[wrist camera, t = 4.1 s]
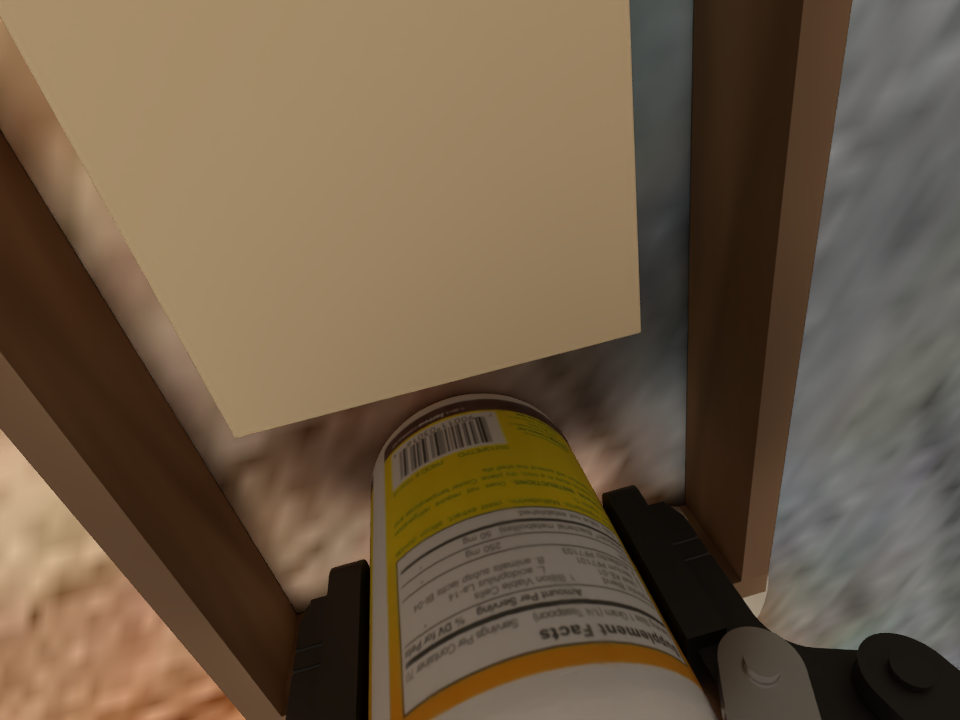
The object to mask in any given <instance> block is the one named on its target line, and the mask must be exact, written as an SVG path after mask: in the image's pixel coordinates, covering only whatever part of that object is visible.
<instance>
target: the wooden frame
mask: <svg viewBox="0 0 960 720" xmlns="http://www.w3.org/2000/svg"><path fill="white" fill-rule="evenodd" d="M851 7H852V0H694V33H693V90H692V147H691V203H690V260H689V316H688V373H687V429H686V486H685V505H682V506H679V508H680V509H681V511H682V512H683V513H684V515H685V516H686V518H687V519H688V520H687V521H688V522H689V524H690V525H691V526H692V528H693V529H694V531H695V532H696V533H697V535H698V538H699V539H701V541H702V542H703V543H704V545H705V546H706V548H707V549H708V550H709V553H710V555H712V556H713V557H714V559H715V560H716V562H717V563H718V564H719V566H720V567H721V569H722V570H723V571H724V573H725V574H726V576H727V577H728V579H729V580H730V581H731V583H732V584H733V586H734V587H735V588H736V590H737V591H738V593H739V594H740V595H741V597H742V598H745V597H748V596H752V595H755V594H758V593H762V592H765V591H766V585H767V578H768V571H769V564H770V557H771V551H772V544H773V537H774V530H775V523H776V517H777V510H778V503H779V496H780V489H781V483H782V476H783V469H784V462H785V455H786V449H787V442H788V435H789V428H790V421H791V415H792V408H793V401H794V394H795V387H796V381H797V374H798V367H799V360H800V353H801V347H802V340H803V333H804V326H805V319H806V313H807V306H808V299H809V292H810V285H811V279H812V272H813V265H814V258H815V251H816V245H817V238H818V231H819V224H820V217H821V211H822V204H823V197H824V190H825V183H826V177H827V170H828V163H829V156H830V149H831V143H832V136H833V129H834V122H835V115H836V109H837V102H838V95H839V88H840V81H841V75H842V68H843V61H844V54H845V47H846V41H847V34H848V27H849V20H850V13H851ZM0 429H1V430H2V431H3V432H4V433H5V434H6V436H7V437H8V438H9V439H10V440H11V442H12V443H13V444H14V445H15V446H16V447H17V449H18V450H19V451H20V452H21V453H22V455H23V456H24V457H25V458H26V459H27V460H28V462H29V463H30V464H31V465H32V466H33V468H34V469H35V470H36V471H37V472H38V474H39V475H40V476H41V477H42V478H43V479H44V481H45V482H46V483H47V484H48V485H49V487H50V488H51V489H52V490H53V491H54V492H55V494H56V495H57V496H58V497H59V498H60V500H61V501H62V502H63V503H64V504H65V505H66V507H67V508H68V509H69V510H70V511H71V513H72V514H73V515H74V516H75V517H76V519H77V520H78V521H79V522H80V523H81V524H82V526H83V527H84V528H85V529H86V530H87V532H88V533H89V534H90V535H91V536H92V537H93V539H94V540H95V541H96V542H97V543H98V545H99V546H100V547H101V548H102V549H103V550H104V552H105V553H106V554H107V555H108V556H109V558H110V559H111V560H112V561H113V562H114V564H115V565H116V566H117V567H118V568H119V569H120V571H121V572H122V573H123V574H124V575H125V577H126V578H127V579H128V580H129V581H130V582H131V584H132V585H133V586H134V587H135V588H136V590H137V591H138V592H139V593H140V594H141V595H142V597H143V598H144V599H145V600H146V601H147V603H148V604H149V605H150V606H151V607H152V609H153V610H154V611H155V612H156V613H157V614H158V616H159V617H160V618H161V619H162V620H163V622H164V623H165V624H166V625H167V626H168V627H169V629H170V630H171V631H172V632H173V633H174V635H175V636H176V637H177V638H178V639H179V640H180V642H181V643H182V644H183V645H184V646H185V648H186V649H187V650H188V651H189V652H190V654H191V655H192V656H193V657H194V658H195V659H196V661H197V662H198V663H199V664H200V665H201V667H202V668H203V669H204V670H205V671H206V672H207V674H208V675H209V676H210V677H211V678H212V680H213V681H214V682H215V683H216V684H217V685H218V687H219V688H220V689H221V690H222V691H223V693H224V694H225V695H226V696H227V697H228V699H229V700H230V701H231V702H232V703H233V704H234V706H235V707H236V708H237V709H238V710H239V712H240V713H241V714H242V715H243V716H244V717H245V719H246V720H286V713H287V706H288V699H289V692H290V685H291V678H292V676H293V664H294V657H295V654H296V644H297V637H298V630H299V624H300V622H301V620H302V618H303V616H304V614H305V612H304V613H300V614H297V613H296V612H295V610H294V608H293V607H292V605H291V604H290V602H289V600H288V599H287V597H286V595H285V594H284V592H283V591H282V589H281V587H280V586H279V584H278V582H277V581H276V579H275V578H274V576H273V574H272V573H271V571H270V569H269V568H268V566H267V565H266V563H265V561H264V560H263V558H262V556H261V555H260V553H259V552H258V550H257V548H256V547H255V545H254V543H253V542H252V540H251V539H250V537H249V535H248V534H247V532H246V530H245V529H244V527H243V526H242V524H241V522H240V521H239V519H238V517H237V516H236V514H235V513H234V511H233V509H232V508H231V506H230V504H229V503H228V501H227V500H226V498H225V496H224V495H223V493H222V491H221V490H220V488H219V487H218V485H217V483H216V482H215V480H214V478H213V477H212V475H211V474H210V472H209V470H208V469H207V467H206V465H205V464H204V462H203V461H202V459H201V457H200V456H199V454H198V452H197V451H196V449H195V448H194V446H193V444H192V443H191V441H190V439H189V438H188V436H187V435H186V433H185V431H184V430H183V428H182V426H181V425H180V423H179V422H178V420H177V418H176V417H175V415H174V413H173V412H172V410H171V409H170V407H169V405H168V404H167V402H166V400H165V399H164V397H163V396H162V394H161V392H160V391H159V389H158V387H157V386H156V384H155V383H154V381H153V379H152V378H151V376H150V374H149V373H148V371H147V370H146V368H145V366H144V365H143V363H142V361H141V360H140V358H139V357H138V355H137V353H136V352H135V350H134V348H133V347H132V345H131V344H130V342H129V340H128V339H127V337H126V335H125V334H124V332H123V331H122V329H121V327H120V326H119V324H118V322H117V321H116V319H115V318H114V316H113V314H112V313H111V311H110V309H109V308H108V306H107V305H106V303H105V301H104V300H103V298H102V296H101V295H100V293H99V292H98V290H97V288H96V287H95V285H94V283H93V282H92V280H91V279H90V277H89V275H88V274H87V272H86V270H85V269H84V267H83V266H82V264H81V262H80V261H79V259H78V257H77V256H76V254H75V253H74V251H73V249H72V248H71V246H70V244H69V243H68V241H67V240H66V238H65V236H64V235H63V233H62V231H61V230H60V228H59V227H58V225H57V223H56V222H55V220H54V218H53V217H52V215H51V214H50V212H49V210H48V209H47V207H46V205H45V204H44V202H43V201H42V199H41V197H40V196H39V194H38V192H37V191H36V189H35V188H34V186H33V184H32V183H31V181H30V179H29V178H28V176H27V175H26V173H25V171H24V170H23V168H22V166H21V165H20V163H19V162H18V160H17V158H16V157H15V155H14V153H13V152H12V150H11V149H10V147H9V145H8V144H7V142H6V140H5V139H4V137H3V136H2V134H1V132H0Z"/></svg>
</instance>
